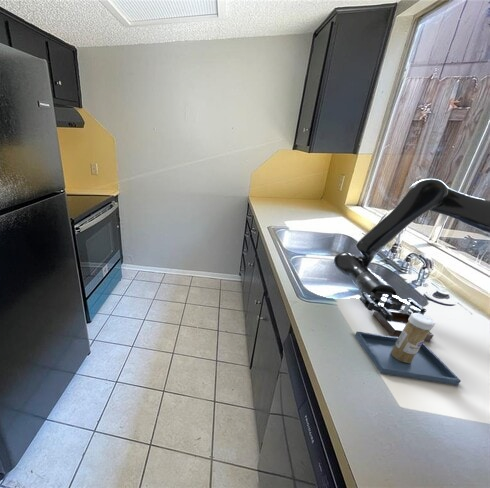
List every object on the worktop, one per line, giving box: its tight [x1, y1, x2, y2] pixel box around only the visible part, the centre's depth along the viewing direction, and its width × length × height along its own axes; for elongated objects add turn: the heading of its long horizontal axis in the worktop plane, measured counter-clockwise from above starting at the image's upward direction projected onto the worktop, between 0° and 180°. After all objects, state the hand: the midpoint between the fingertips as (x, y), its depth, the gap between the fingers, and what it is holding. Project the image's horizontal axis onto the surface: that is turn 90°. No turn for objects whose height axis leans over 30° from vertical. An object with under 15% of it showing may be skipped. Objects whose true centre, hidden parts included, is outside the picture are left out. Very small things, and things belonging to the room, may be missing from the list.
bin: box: [372, 309, 434, 343], centre depth 81 cm, size 10×10×3 cm
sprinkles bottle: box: [391, 312, 436, 363], centre depth 67 cm, size 5×5×14 cm
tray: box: [354, 331, 462, 386], centre depth 70 cm, size 17×13×2 cm
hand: (408, 321), depth 69 cm, fingers open, 8 cm apart
